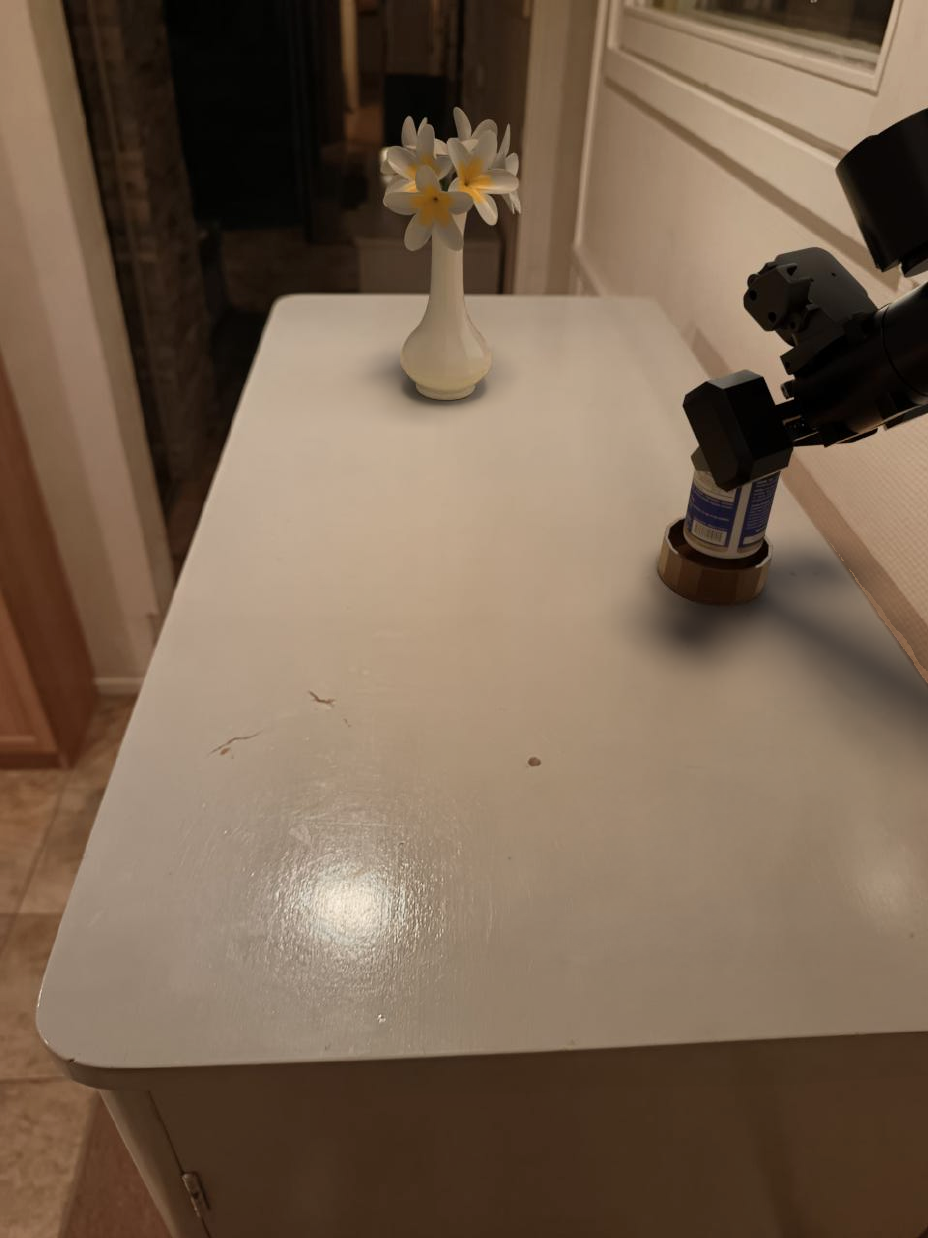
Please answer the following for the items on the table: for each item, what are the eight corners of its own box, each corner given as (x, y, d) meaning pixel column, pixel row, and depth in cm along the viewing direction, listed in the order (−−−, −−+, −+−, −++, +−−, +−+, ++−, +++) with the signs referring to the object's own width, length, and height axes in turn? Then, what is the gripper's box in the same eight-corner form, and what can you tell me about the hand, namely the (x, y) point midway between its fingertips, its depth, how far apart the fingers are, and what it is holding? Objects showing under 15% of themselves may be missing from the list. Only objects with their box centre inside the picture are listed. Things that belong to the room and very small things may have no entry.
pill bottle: (747, 519, 67) (778, 396, 61) (771, 561, 62) (808, 432, 56) (673, 520, 67) (696, 396, 61) (692, 562, 62) (719, 433, 56)
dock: (765, 556, 69) (774, 524, 67) (760, 614, 63) (770, 580, 61) (665, 538, 71) (671, 506, 69) (651, 593, 65) (658, 559, 63)
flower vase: (381, 430, 84) (371, 137, 69) (391, 355, 99) (384, 99, 83) (516, 432, 85) (537, 141, 69) (506, 357, 99) (521, 103, 83)
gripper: (959, 192, 52) (769, 322, 66) (743, 234, 43) (577, 374, 57) (1034, 364, 52) (827, 459, 66) (832, 441, 43) (644, 531, 57)
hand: (725, 452), depth 61 cm, fingers closed on pill bottle, 6 cm apart
